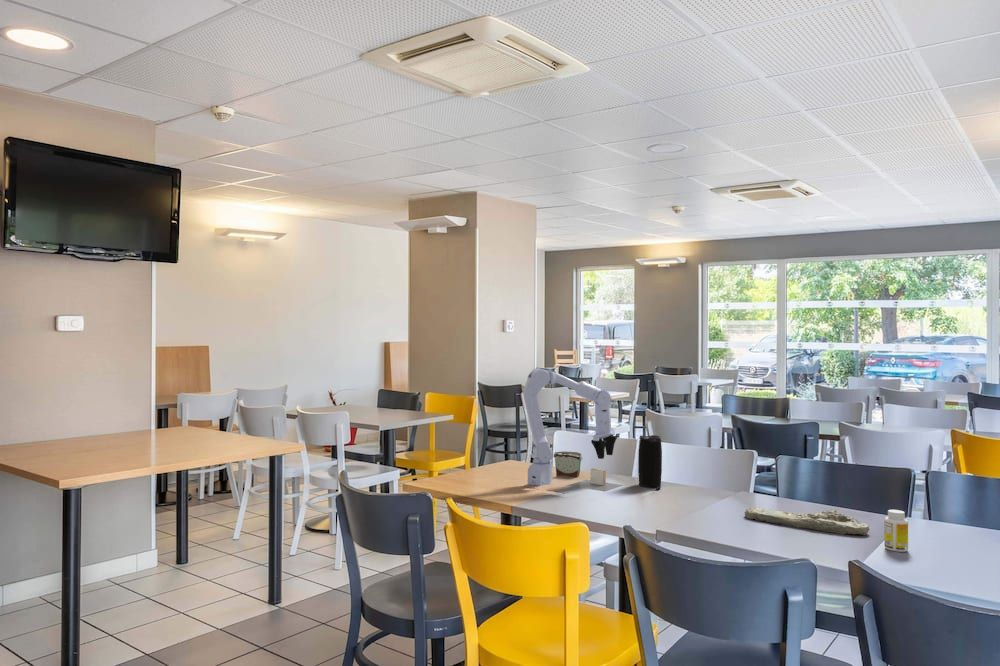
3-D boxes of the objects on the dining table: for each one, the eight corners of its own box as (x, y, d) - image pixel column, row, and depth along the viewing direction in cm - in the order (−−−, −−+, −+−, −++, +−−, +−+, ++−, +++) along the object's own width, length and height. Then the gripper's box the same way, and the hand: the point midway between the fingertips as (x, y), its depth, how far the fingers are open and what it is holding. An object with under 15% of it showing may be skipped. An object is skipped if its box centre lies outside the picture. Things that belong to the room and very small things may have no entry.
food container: (587, 478, 284) (588, 453, 284) (581, 480, 278) (581, 455, 279) (560, 474, 290) (560, 450, 290) (553, 477, 285) (553, 452, 285)
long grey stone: (750, 518, 229) (741, 526, 221) (749, 502, 229) (740, 509, 221) (872, 530, 208) (866, 539, 200) (870, 512, 208) (865, 521, 200)
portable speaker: (655, 486, 270) (656, 434, 270) (665, 491, 261) (666, 437, 261) (634, 486, 268) (634, 434, 268) (643, 491, 259) (644, 438, 259)
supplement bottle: (910, 549, 191) (910, 511, 191) (904, 554, 186) (905, 514, 187) (887, 545, 194) (887, 507, 194) (881, 549, 190) (881, 511, 190)
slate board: (605, 494, 254) (605, 491, 254) (566, 488, 264) (566, 485, 264) (623, 488, 265) (623, 485, 265) (586, 482, 275) (586, 479, 275)
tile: (603, 485, 263) (603, 470, 263) (590, 483, 267) (590, 469, 267) (605, 485, 265) (605, 470, 265) (592, 483, 268) (592, 468, 268)
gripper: (604, 424, 263) (606, 460, 263) (620, 418, 275) (622, 453, 275) (587, 423, 267) (589, 459, 267) (604, 418, 279) (606, 453, 279)
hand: (605, 456), depth 272 cm, fingers open, 7 cm apart
